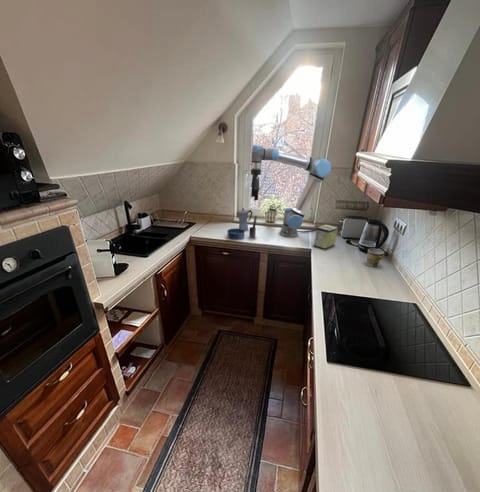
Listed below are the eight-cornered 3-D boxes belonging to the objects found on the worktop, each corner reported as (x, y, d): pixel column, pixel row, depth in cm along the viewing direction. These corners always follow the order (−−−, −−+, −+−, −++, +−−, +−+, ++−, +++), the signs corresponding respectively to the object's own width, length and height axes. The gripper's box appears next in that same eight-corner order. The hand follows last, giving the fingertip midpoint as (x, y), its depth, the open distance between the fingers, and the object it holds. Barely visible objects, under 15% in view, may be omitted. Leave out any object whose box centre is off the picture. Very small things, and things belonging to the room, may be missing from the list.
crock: (254, 237, 219) (255, 226, 214) (255, 239, 214) (256, 228, 210) (248, 237, 218) (249, 227, 214) (249, 239, 214) (250, 228, 209)
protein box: (334, 245, 206) (338, 226, 199) (324, 250, 197) (329, 230, 189) (322, 242, 213) (326, 224, 205) (313, 246, 203) (316, 227, 195)
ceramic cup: (361, 261, 180) (365, 248, 175) (374, 261, 181) (378, 248, 176) (370, 269, 169) (375, 256, 164) (385, 269, 170) (390, 255, 165)
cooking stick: (252, 237, 217) (256, 216, 208) (253, 237, 215) (257, 216, 207) (250, 236, 216) (254, 215, 208) (251, 237, 215) (254, 216, 206)
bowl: (242, 235, 223) (243, 228, 220) (245, 240, 210) (245, 233, 207) (226, 235, 221) (226, 228, 218) (228, 241, 209) (228, 233, 206)
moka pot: (234, 229, 235) (234, 207, 225) (248, 228, 241) (249, 206, 231) (238, 232, 228) (238, 210, 218) (253, 231, 234) (254, 208, 224)
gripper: (248, 167, 199) (247, 195, 210) (254, 170, 178) (252, 201, 189) (257, 167, 200) (256, 195, 211) (264, 170, 179) (262, 201, 189)
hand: (254, 198), depth 200 cm, fingers open, 13 cm apart
